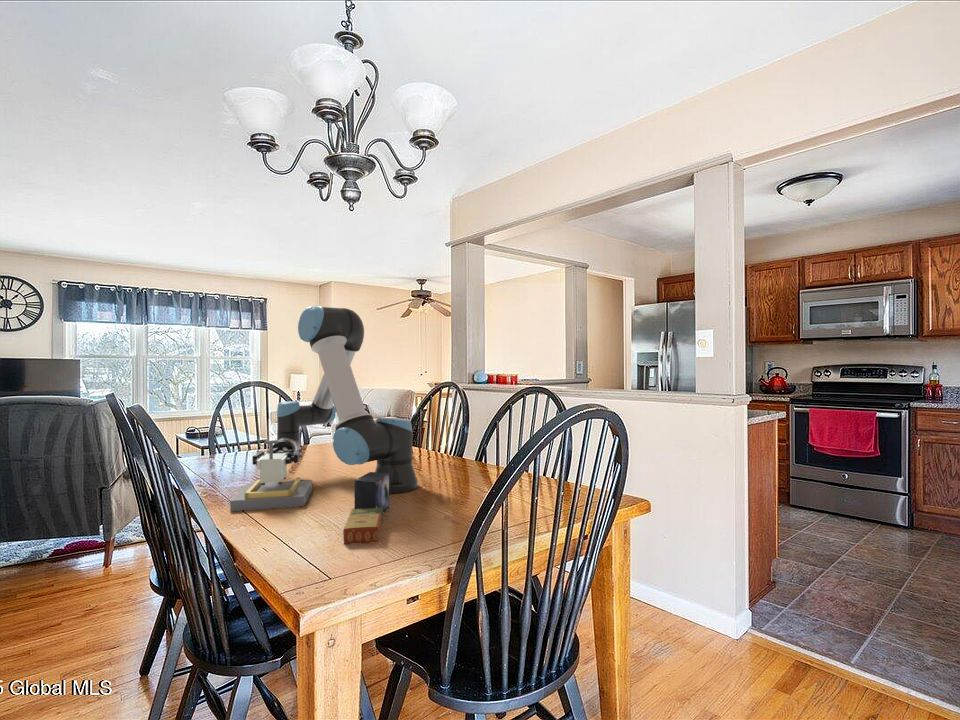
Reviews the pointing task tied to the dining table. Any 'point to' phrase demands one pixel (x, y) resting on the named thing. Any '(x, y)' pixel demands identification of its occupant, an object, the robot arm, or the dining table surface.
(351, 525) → the carton
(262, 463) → the plunger detonator box
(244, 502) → the dock
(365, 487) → the small box
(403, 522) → the dining table surface
